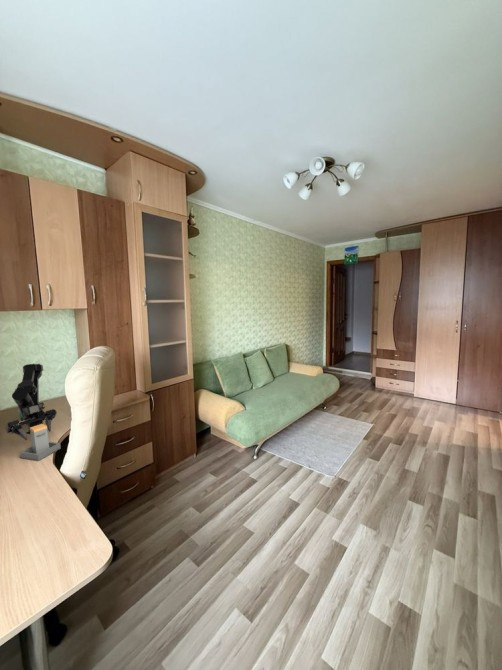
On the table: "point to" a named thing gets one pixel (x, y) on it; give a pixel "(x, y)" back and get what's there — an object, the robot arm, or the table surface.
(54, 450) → the tray
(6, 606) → the table surface
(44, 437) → the gray orange box
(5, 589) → the table surface
